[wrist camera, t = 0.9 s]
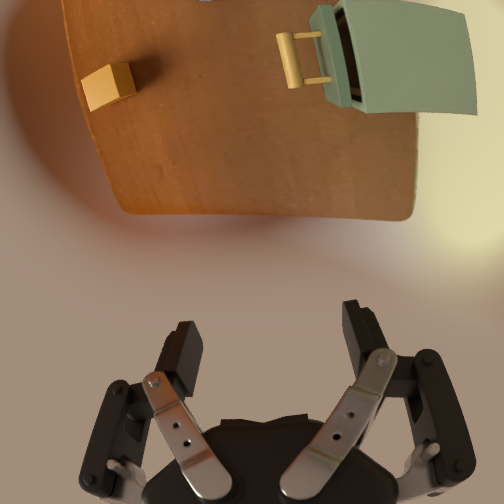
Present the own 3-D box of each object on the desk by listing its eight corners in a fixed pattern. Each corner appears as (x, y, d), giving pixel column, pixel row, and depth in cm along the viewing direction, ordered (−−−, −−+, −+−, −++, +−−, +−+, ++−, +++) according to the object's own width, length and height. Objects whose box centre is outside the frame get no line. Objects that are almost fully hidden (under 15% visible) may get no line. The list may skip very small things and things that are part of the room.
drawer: (289, 104, 29) (294, 113, 23) (270, 24, 23) (270, 9, 17) (417, 96, 26) (450, 106, 20) (405, 21, 20) (436, 13, 14)
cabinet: (342, 102, 29) (366, 113, 21) (324, 16, 23) (342, -4, 15) (435, 101, 27) (477, 115, 19) (423, 21, 20) (464, 14, 12)
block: (109, 105, 31) (90, 111, 27) (100, 76, 28) (80, 80, 24) (137, 92, 30) (119, 97, 26) (128, 62, 27) (110, 63, 23)
